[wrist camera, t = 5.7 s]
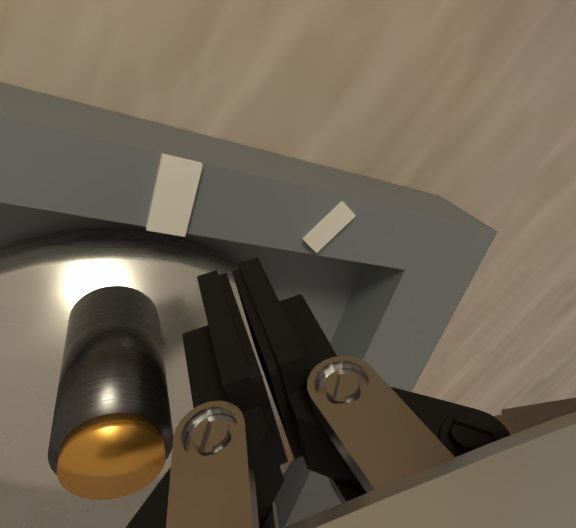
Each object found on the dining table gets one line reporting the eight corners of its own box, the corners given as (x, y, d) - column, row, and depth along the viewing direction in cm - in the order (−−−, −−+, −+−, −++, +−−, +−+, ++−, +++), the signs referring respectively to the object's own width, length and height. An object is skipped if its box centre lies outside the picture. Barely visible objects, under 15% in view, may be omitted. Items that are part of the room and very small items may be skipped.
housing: (439, 196, 19) (502, 234, 16) (289, 517, 27) (311, 585, 24) (-347, -8, 10) (-560, -11, 7) (-231, 567, 18) (-305, 687, 15)
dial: (326, 233, 16) (438, 359, 11) (269, 494, 23) (320, 662, 17) (-185, 221, 12) (-484, 440, 6) (-78, 557, 18) (-171, 822, 12)
